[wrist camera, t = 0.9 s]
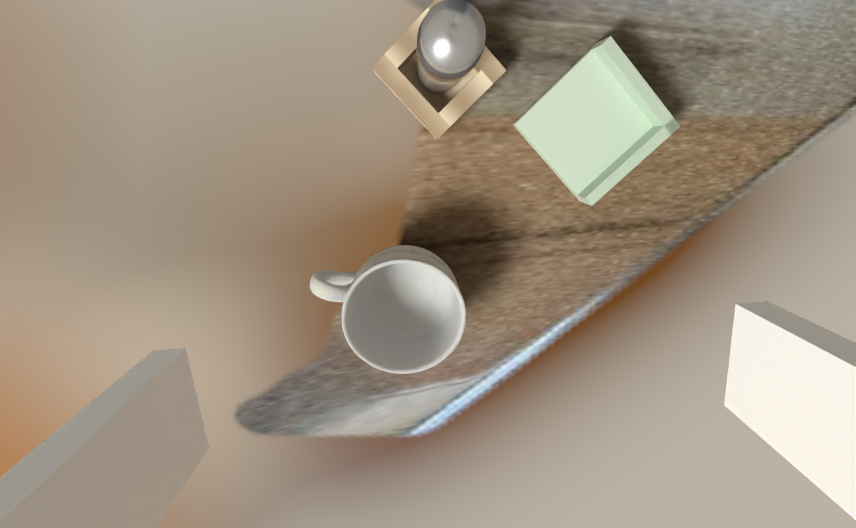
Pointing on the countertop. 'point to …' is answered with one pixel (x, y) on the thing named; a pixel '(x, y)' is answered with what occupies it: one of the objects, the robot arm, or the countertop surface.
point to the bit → (449, 44)
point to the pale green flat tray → (596, 122)
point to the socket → (428, 108)
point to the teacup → (398, 308)
